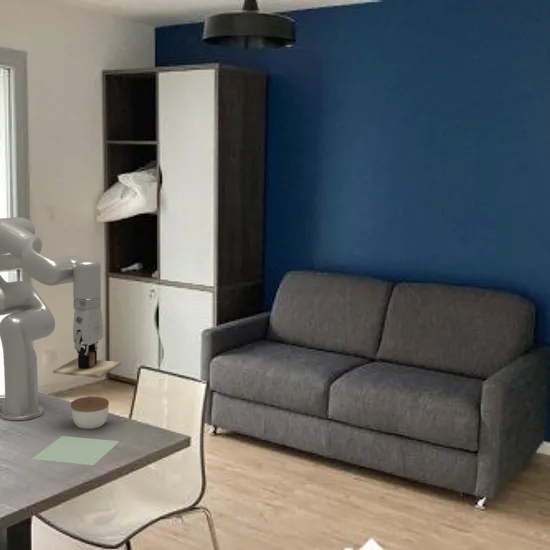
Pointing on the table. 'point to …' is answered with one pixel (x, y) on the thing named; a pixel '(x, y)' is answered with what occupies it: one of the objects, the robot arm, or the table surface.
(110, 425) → the table surface
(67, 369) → the cover
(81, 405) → the lidded jar
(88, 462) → the mat
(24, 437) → the table surface
